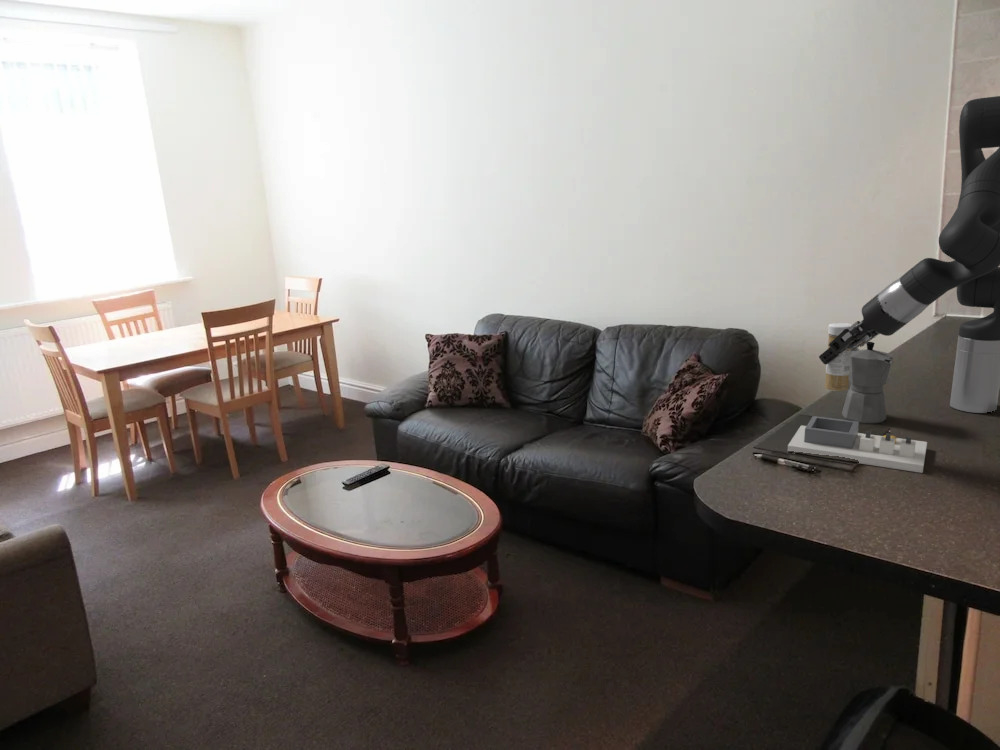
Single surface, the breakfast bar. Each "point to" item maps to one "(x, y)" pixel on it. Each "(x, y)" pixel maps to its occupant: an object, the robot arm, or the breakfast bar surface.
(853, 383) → the coffeepot
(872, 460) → the breaker panel
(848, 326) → the sprinkles bottle
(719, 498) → the breakfast bar surface
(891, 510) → the breakfast bar surface
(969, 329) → the robot arm
